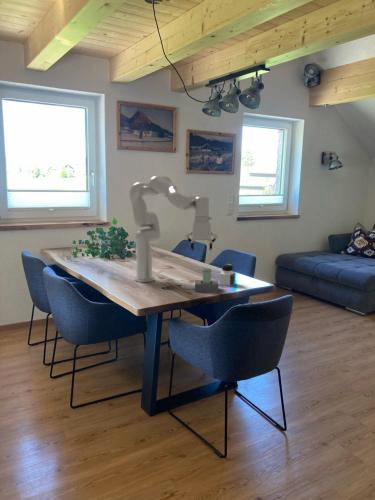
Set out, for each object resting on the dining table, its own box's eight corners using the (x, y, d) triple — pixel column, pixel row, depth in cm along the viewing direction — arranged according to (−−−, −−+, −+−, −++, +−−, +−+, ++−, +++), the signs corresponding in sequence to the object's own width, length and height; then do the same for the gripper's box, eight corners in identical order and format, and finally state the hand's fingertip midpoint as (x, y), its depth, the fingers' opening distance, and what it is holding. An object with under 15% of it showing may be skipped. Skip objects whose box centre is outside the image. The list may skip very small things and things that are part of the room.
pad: (183, 285, 234) (183, 285, 234) (195, 286, 234) (195, 285, 234) (182, 289, 227) (182, 288, 227) (195, 289, 227) (195, 288, 227)
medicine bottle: (230, 286, 235) (230, 266, 233) (219, 284, 238) (219, 265, 236) (234, 283, 241) (235, 264, 239) (223, 282, 244) (224, 263, 242)
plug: (202, 288, 228) (202, 268, 226) (210, 288, 228) (211, 268, 226) (202, 291, 224) (202, 270, 222) (210, 291, 224) (211, 270, 222)
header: (195, 287, 231) (195, 280, 230) (217, 288, 230) (217, 280, 229) (194, 291, 222) (195, 284, 221) (218, 292, 221) (218, 284, 221)
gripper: (217, 218, 220) (217, 249, 223) (186, 218, 221) (186, 248, 224) (217, 220, 213) (217, 251, 216) (185, 219, 214) (185, 251, 217)
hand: (201, 250), depth 220 cm, fingers open, 9 cm apart
